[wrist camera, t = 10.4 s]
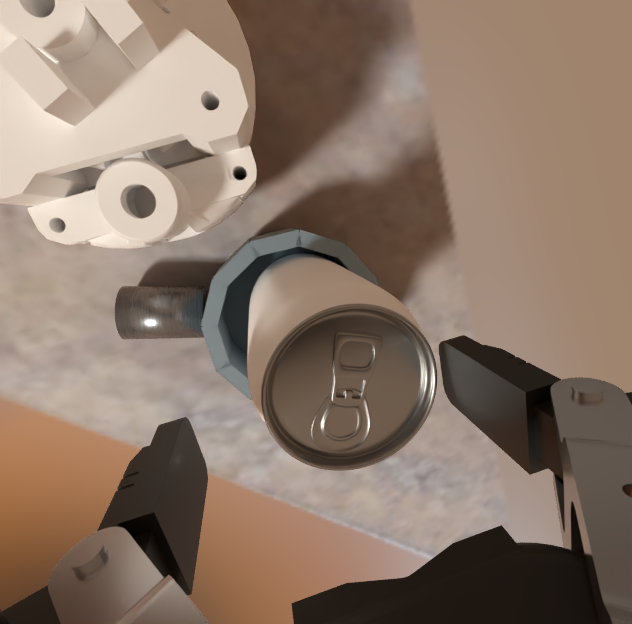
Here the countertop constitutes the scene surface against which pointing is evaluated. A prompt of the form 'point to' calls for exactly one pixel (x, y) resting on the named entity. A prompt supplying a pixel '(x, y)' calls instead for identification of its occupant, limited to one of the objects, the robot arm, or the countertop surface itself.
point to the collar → (236, 286)
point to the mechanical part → (125, 118)
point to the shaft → (160, 311)
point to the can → (335, 364)
